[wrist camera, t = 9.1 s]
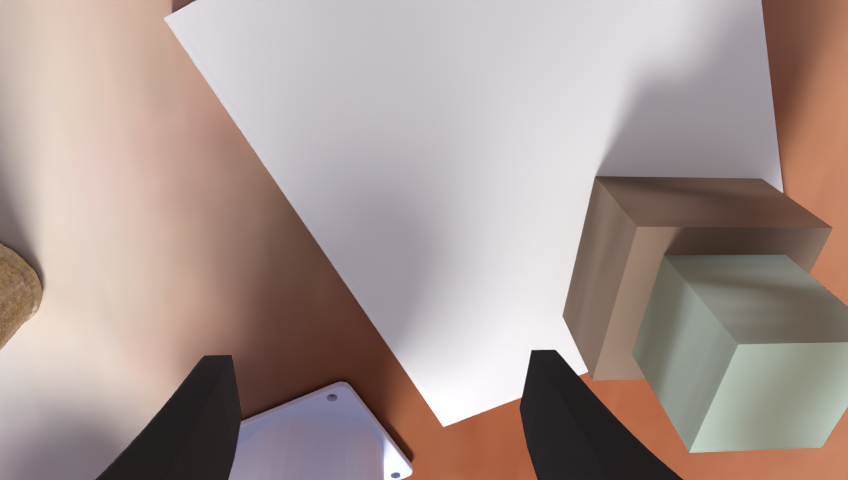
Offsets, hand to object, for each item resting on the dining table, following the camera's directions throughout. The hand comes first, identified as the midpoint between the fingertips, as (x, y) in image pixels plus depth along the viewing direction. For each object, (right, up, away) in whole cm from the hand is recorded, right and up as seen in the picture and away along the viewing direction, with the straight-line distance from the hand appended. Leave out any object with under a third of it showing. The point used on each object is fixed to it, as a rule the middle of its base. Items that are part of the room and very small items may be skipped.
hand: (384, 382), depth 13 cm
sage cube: (+11, +1, +7) cm, 13 cm away
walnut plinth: (+11, +3, +10) cm, 15 cm away
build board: (+5, +6, +9) cm, 12 cm away
